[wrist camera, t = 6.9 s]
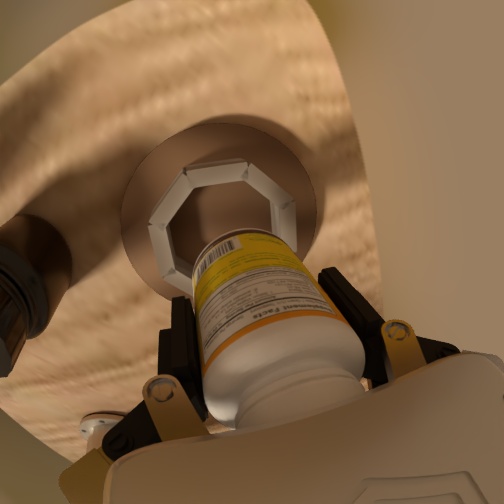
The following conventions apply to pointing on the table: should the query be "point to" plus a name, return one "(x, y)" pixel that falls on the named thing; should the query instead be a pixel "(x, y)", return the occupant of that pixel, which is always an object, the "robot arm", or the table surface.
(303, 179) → the socket
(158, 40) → the table surface
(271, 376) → the supplement bottle
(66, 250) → the ink bottle
